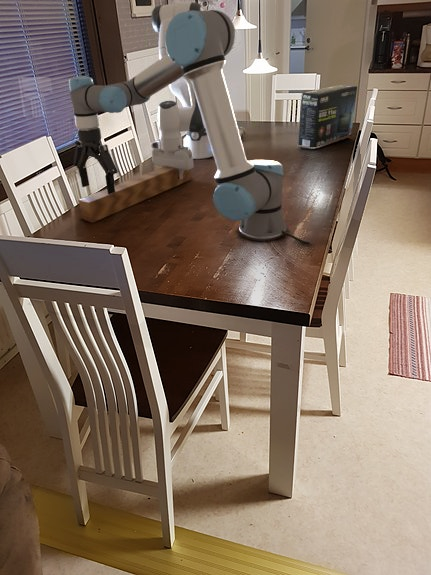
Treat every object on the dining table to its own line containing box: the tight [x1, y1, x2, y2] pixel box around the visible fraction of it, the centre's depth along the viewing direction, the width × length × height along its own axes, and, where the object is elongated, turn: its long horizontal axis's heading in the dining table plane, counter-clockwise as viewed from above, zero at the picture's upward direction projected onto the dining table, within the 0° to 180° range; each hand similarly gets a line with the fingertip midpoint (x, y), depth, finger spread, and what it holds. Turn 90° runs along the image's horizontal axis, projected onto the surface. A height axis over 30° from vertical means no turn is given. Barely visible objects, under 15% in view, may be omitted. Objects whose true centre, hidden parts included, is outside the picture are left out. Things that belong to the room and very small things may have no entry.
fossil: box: [238, 126, 247, 138], centre depth 261 cm, size 18×11×15 cm
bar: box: [78, 166, 191, 224], centre depth 180 cm, size 55×6×7 cm, turn 144°
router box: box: [297, 84, 358, 151], centre depth 238 cm, size 36×11×27 cm, turn 134°
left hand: (173, 177), depth 194 cm, fingers closed on bar, 5 cm apart
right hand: (98, 189), depth 164 cm, fingers open, 13 cm apart
